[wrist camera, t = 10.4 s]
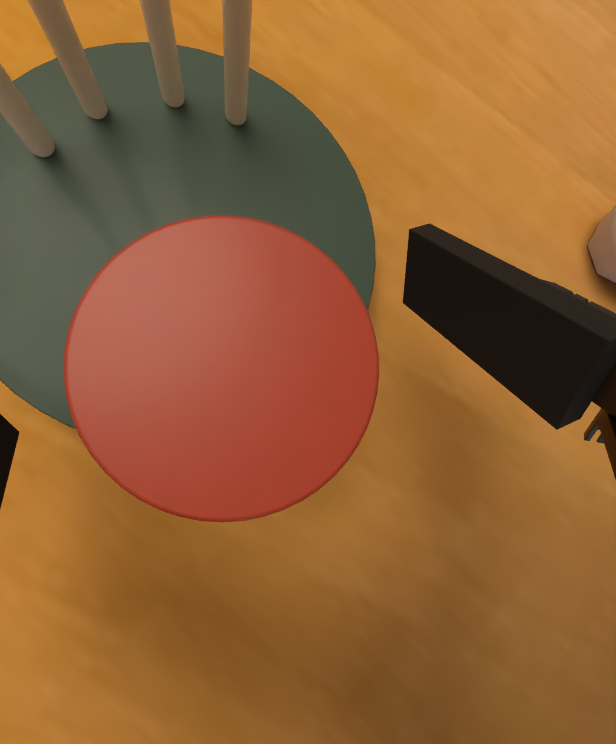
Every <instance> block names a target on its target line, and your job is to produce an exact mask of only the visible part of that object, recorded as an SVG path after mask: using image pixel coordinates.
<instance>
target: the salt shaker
mask: <svg viewBox="0 0 616 744" xmlns="http://www.w3.org/2000/svg"><path fill="white" fill-rule="evenodd" d="M588 249H589V252H590V255H591V257H592V260H593V263H594V266H595V269H596V272H597V274H599V275H601V276H603V277H605V278H607V279H609V280H611V281H613V282H614V283H616V206H615V207H614V208H613V209H612V210H611V211H610V212H609V213H608V214H607V215H606V216H605V217H604V218H603V219H602V221H601V222H600V223H599V224H598V226H597V228H596V230H595V232H594V234H593V236H592V238H591V240H590V242H589V244H588Z"/></svg>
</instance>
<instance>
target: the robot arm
mask: <svg viewBox="0 0 616 744" xmlns="http://www.w3.org/2000/svg"><path fill="white" fill-rule="evenodd" d="M403 303H404V304H405V305H406V306H407V307H409V308H410V309H411V310H412V311H413V312H415V313H416V314H417V315H418V316H419V317H421V318H422V319H423V320H424V321H426V322H427V323H428V324H429V325H430V326H432V327H433V328H434V329H435V330H436V331H438V332H439V333H440V334H441V335H443V336H444V337H445V338H446V339H447V340H449V341H450V342H451V343H452V344H453V345H455V346H456V347H457V348H458V349H459V350H461V351H462V352H463V353H464V354H466V355H467V356H468V357H469V358H470V359H472V360H473V361H474V362H475V363H476V364H478V365H479V366H480V367H481V368H483V369H484V370H485V371H486V372H487V373H489V374H490V375H491V376H492V377H493V378H495V379H496V380H497V381H498V382H500V383H501V384H502V385H503V386H504V387H506V388H507V389H508V390H509V391H510V392H512V393H513V394H514V395H515V396H517V397H518V398H519V399H520V400H521V401H523V402H524V403H525V404H526V405H527V406H529V407H530V408H531V409H532V410H533V411H535V412H536V413H537V414H538V415H540V416H541V417H542V418H543V419H544V420H546V421H547V422H548V423H549V424H550V425H552V426H553V427H554V428H555V429H559V428H562V427H564V426H566V425H568V424H570V423H572V422H574V421H576V420H578V419H580V418H581V417H582V415H583V414H584V412H585V411H586V409H587V408H588V406H589V404H590V403H591V401H592V402H594V403H595V404H597V405H598V406H599V407H601V410H600V411H599V412H598V414H597V415H596V417H595V418H594V420H593V421H592V423H591V424H590V426H589V427H588V429H587V430H586V431H585V433H584V440H586V441H590V439H591V438H592V436H593V435H594V434H595V432H596V431H597V430H599V429H600V431H601V435H600V436H599V437H598V439H597V442H599V443H604V444H605V447H606V450H607V453H608V457H609V460H610V463H611V466H612V469H613V472H614V476H615V479H616V313H614V312H612V311H610V310H608V309H606V308H604V307H602V306H600V305H598V304H596V303H594V302H588V299H586V298H584V297H582V296H580V295H578V294H575V295H574V294H573V292H572V291H570V290H568V289H566V288H564V287H562V286H560V285H558V284H556V283H553V282H549V281H545V280H541V279H538V278H536V277H534V276H532V275H530V274H528V273H526V272H524V271H522V270H520V269H518V268H516V267H514V266H512V265H510V264H508V263H506V262H505V261H503V260H501V259H499V258H497V257H495V256H493V255H491V254H489V253H487V252H485V251H483V250H481V249H479V248H477V247H475V246H473V245H471V244H469V243H467V242H465V241H463V240H461V239H459V238H457V237H455V236H453V235H451V234H449V233H447V232H445V231H443V230H441V229H439V228H437V227H435V226H433V225H431V224H426V225H423V226H419V227H416V228H412V229H409V239H408V251H407V262H406V273H405V284H404V295H403ZM18 435H19V431H18V430H17V429H16V428H14V427H13V426H12V425H11V424H10V423H9V422H8V421H7V420H6V419H5V418H4V417H3V416H2V415H1V414H0V508H1V504H2V500H3V496H4V492H5V488H6V484H7V480H8V476H9V472H10V468H11V464H12V460H13V456H14V452H15V448H16V444H17V440H18Z"/></svg>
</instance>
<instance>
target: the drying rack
mask: <svg viewBox="0 0 616 744" xmlns="http://www.w3.org/2000/svg"><path fill="white" fill-rule="evenodd" d="M28 1H29V3H30V5H31V7H32V9H33V11H34V13H35V15H36V17H37V19H38V21H39V23H40V25H41V27H42V29H43V31H44V33H45V35H46V37H47V39H48V41H49V43H50V45H51V47H52V49H53V51H54V53H55V55H56V57H57V58H55V59H53V60H51V61H49V62H47V63H44V64H42V65H40V66H38V67H35V68H33V69H32V70H30V71H29V72H27V73H25V74H24V75H22V76H21V77H19V78H17V79H16V80H14V81H13V82H12V80H11V79H10V77H9V76H8V74H7V73H6V71H5V70H4V68H3V67H2V66H1V64H0V380H1V381H2V382H3V383H4V384H5V385H6V386H7V387H8V388H9V389H10V390H11V391H12V392H14V393H15V394H16V395H18V396H19V397H21V398H22V399H23V400H25V401H26V402H28V403H29V404H31V405H32V406H33V407H35V408H36V409H38V410H39V411H41V412H42V413H44V414H46V415H48V416H50V417H52V418H54V419H56V420H58V421H60V422H62V423H64V424H66V425H68V426H70V427H72V428H75V429H77V431H78V434H79V436H80V438H81V439H82V441H83V443H84V444H85V446H86V448H87V449H88V451H89V453H90V454H91V456H92V457H93V458H94V459H95V461H96V462H97V463H98V464H99V466H100V467H101V468H102V469H103V471H104V472H105V473H106V474H107V475H108V476H110V477H111V478H112V479H113V480H114V481H115V482H116V483H117V484H118V485H119V486H120V487H122V488H123V489H124V490H126V491H127V492H129V493H130V494H132V495H133V496H135V497H136V498H137V499H139V500H141V501H143V502H145V503H147V504H149V505H151V506H153V507H155V508H157V509H159V510H162V511H164V512H167V513H170V514H173V515H176V516H179V517H184V518H189V519H194V520H199V521H211V522H232V521H245V520H250V519H254V518H259V517H264V516H267V515H270V514H273V513H276V512H279V511H282V510H284V509H286V508H288V507H290V506H292V505H294V504H296V503H298V502H300V501H302V500H304V499H305V498H307V497H308V496H310V495H311V494H313V493H314V492H316V491H317V490H319V489H320V488H321V487H322V486H324V485H325V484H326V483H327V482H328V481H329V480H330V479H332V478H333V477H334V476H335V475H336V474H337V472H338V471H339V470H340V469H341V468H342V467H343V466H344V465H345V463H346V462H347V461H348V460H349V458H350V457H351V455H352V454H353V452H354V451H355V449H356V448H357V446H358V445H359V443H360V441H361V439H362V437H363V435H364V433H365V431H366V429H367V426H368V424H369V421H370V418H371V415H372V413H373V409H374V405H375V400H376V396H377V389H378V379H379V356H378V349H377V342H376V337H375V333H374V329H373V326H372V322H371V319H370V317H369V314H368V312H367V311H368V307H369V302H370V298H371V294H372V290H373V283H374V273H375V239H374V232H373V226H372V219H371V215H370V211H369V208H368V204H367V201H366V197H365V194H364V191H363V189H362V187H361V184H360V182H359V179H358V177H357V175H356V172H355V170H354V169H353V167H352V165H351V163H350V161H349V160H348V158H347V156H346V154H345V152H344V151H343V149H342V148H341V147H340V145H339V144H338V142H337V141H336V140H335V138H334V137H333V136H332V134H331V133H330V131H329V130H328V129H327V128H326V127H325V126H324V125H323V124H322V122H321V121H320V120H319V119H318V118H317V117H316V116H315V115H314V114H313V112H311V111H310V110H309V109H308V108H307V107H306V106H305V105H304V104H302V103H301V102H300V101H299V100H298V99H297V98H296V97H294V96H293V95H292V94H291V93H289V92H288V91H286V90H285V89H284V88H282V87H281V86H279V85H278V84H276V83H275V82H274V81H272V80H270V79H269V78H267V77H265V76H263V75H262V74H260V73H258V72H256V71H254V70H253V69H251V68H249V54H250V33H251V12H252V0H222V6H223V45H224V57H223V56H219V55H216V54H213V53H209V52H206V51H203V50H199V49H194V48H189V47H184V46H178V45H176V39H175V33H174V27H173V20H172V14H171V7H170V1H169V0H140V3H141V7H142V11H143V16H144V20H145V25H146V29H147V33H148V38H149V42H150V43H147V42H138V43H116V44H110V45H104V46H98V47H92V48H87V49H83V48H82V45H81V43H80V41H79V38H78V36H77V33H76V31H75V29H74V26H73V24H72V22H71V19H70V17H69V14H68V12H67V10H66V7H65V5H64V3H63V0H28Z"/></svg>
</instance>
